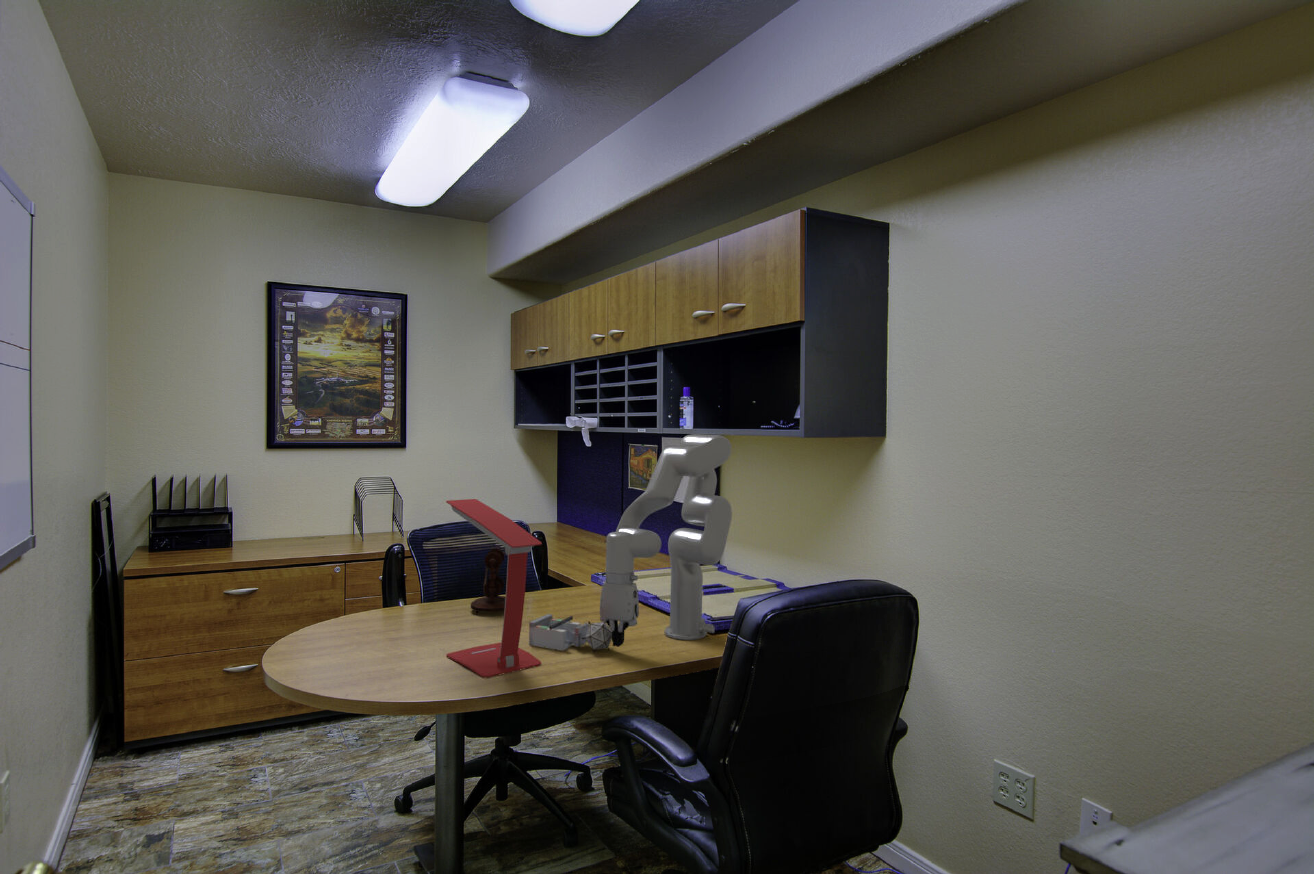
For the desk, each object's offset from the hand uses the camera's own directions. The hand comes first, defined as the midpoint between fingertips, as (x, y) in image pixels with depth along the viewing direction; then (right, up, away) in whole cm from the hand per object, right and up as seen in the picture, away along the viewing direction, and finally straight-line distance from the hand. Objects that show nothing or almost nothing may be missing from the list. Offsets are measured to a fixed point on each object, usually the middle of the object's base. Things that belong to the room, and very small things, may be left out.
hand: (617, 644), depth 192 cm
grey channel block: (-13, -1, +6) cm, 15 cm away
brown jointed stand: (-43, -1, +41) cm, 60 cm away
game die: (-5, -3, +3) cm, 7 cm away
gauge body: (-18, -2, +8) cm, 20 cm away
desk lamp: (-34, -2, -5) cm, 34 cm away
